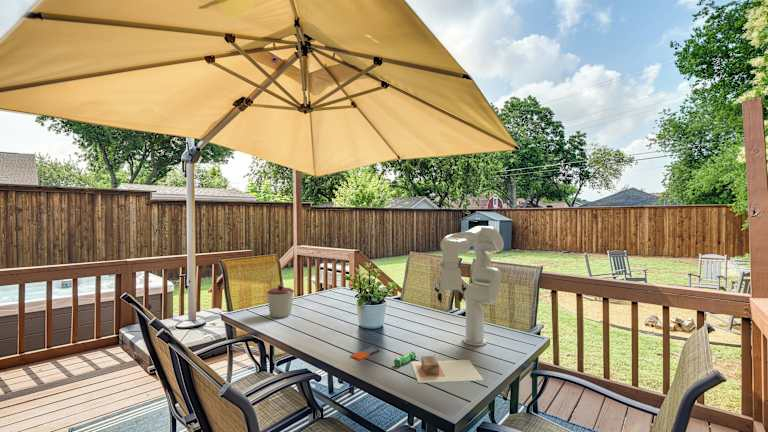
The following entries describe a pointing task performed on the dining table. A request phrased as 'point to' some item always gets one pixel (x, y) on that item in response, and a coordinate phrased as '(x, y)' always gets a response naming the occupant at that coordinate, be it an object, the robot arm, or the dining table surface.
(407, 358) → the candy
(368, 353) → the orange grey slab
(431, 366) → the walnut card box
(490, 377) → the dining table surface
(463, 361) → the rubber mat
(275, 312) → the canister
